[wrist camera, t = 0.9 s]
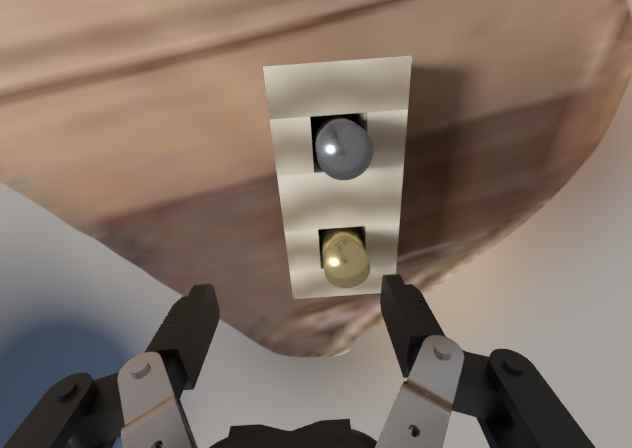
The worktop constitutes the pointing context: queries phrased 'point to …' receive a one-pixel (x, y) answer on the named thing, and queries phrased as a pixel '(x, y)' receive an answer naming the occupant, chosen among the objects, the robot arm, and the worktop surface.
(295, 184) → the ash socket block
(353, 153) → the steel peg
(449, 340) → the robot arm
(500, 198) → the worktop surface
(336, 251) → the brass peg
